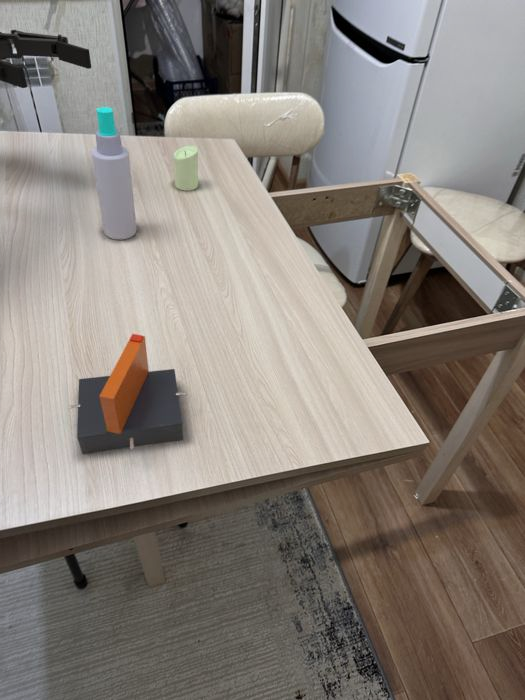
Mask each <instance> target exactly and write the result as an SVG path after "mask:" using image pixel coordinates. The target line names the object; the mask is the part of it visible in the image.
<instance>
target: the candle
mask: <svg viewBox="0 0 525 700" xmlns="http://www.w3.org/2000/svg"><path fill="white" fill-rule="evenodd" d="M173 169H174V173H173V174H174V186H175V188H177V189H178V190H181V191H186V192H188V191H193V190H196V189H197V188H198V186H199V150H198V147H197V146H195V145H186V146H182V147H180V148H178V149H177V150H175V152H174V153H173Z"/></svg>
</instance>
